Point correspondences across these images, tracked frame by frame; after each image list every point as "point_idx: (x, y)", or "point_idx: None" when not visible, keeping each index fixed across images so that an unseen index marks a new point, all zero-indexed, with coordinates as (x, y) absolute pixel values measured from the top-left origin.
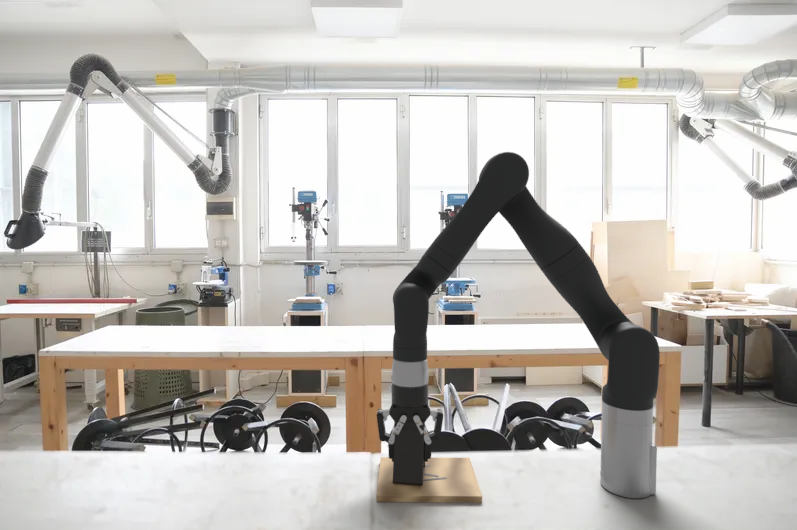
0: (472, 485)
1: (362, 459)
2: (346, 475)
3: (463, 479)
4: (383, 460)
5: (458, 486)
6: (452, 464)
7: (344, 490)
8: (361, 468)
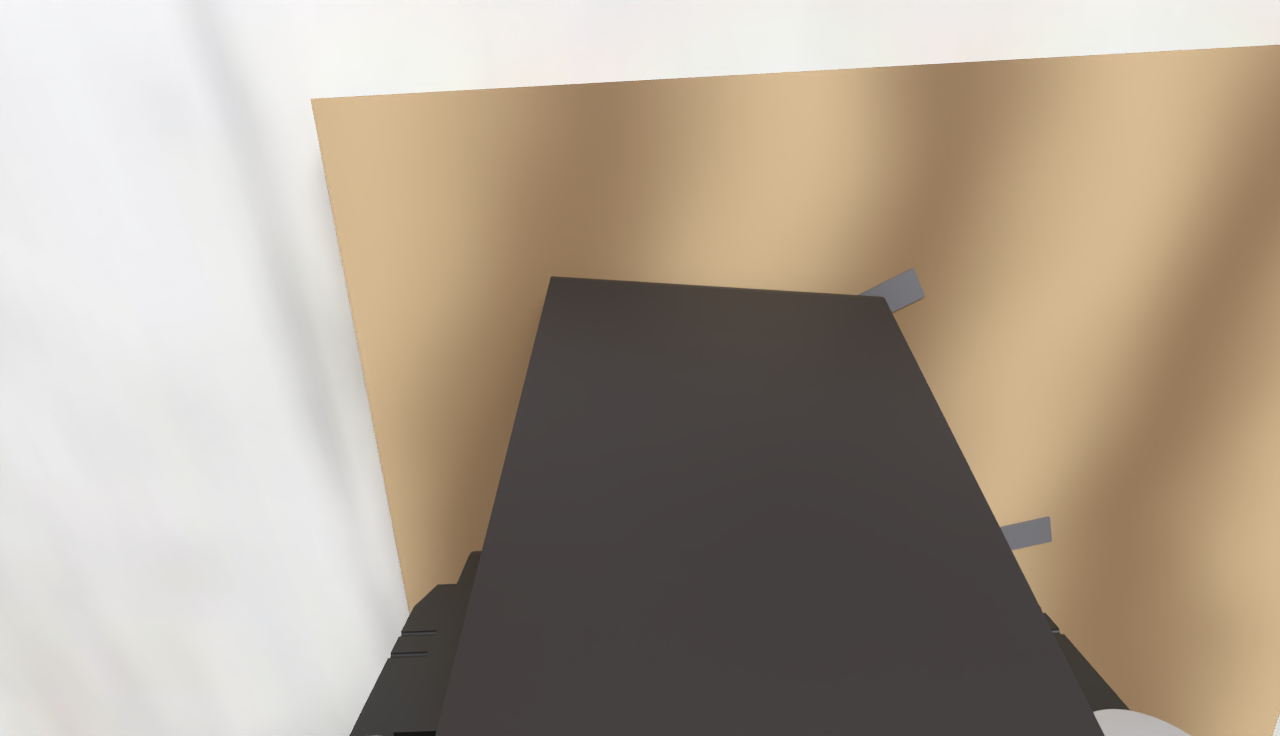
0: (1251, 629)
1: (101, 29)
2: (80, 407)
3: (1207, 543)
4: (368, 193)
5: (1120, 649)
6: (1199, 240)
7: (169, 631)
8: (171, 259)
